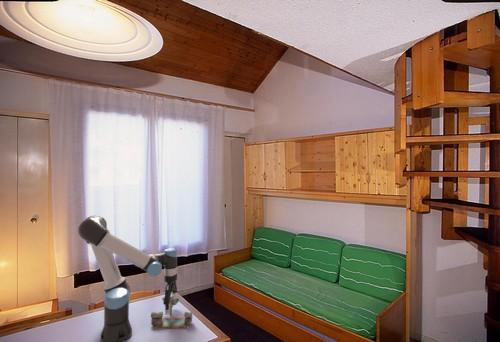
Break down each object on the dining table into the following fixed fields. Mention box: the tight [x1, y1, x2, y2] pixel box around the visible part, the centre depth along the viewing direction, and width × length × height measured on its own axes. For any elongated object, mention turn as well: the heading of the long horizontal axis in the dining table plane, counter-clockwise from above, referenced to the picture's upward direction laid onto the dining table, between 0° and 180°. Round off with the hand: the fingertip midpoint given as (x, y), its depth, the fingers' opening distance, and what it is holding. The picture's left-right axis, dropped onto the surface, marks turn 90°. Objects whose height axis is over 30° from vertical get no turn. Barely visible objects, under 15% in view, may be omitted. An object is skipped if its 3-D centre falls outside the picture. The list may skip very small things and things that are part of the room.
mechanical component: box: [161, 296, 180, 316], centre depth 165 cm, size 3×10×10 cm, turn 78°
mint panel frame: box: [150, 311, 193, 329], centre depth 154 cm, size 23×9×7 cm, turn 91°
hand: (170, 308), depth 165 cm, fingers open, 13 cm apart
